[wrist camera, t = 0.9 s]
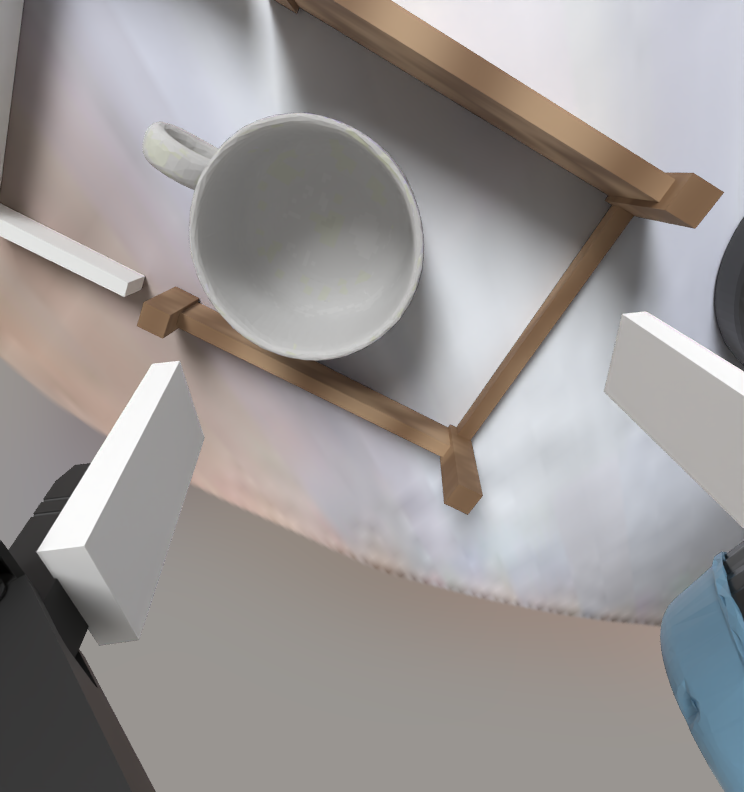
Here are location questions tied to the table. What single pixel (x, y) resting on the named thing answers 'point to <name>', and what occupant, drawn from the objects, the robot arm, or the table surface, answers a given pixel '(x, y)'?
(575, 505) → the table surface
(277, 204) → the teacup
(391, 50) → the wooden frame
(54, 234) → the holder
